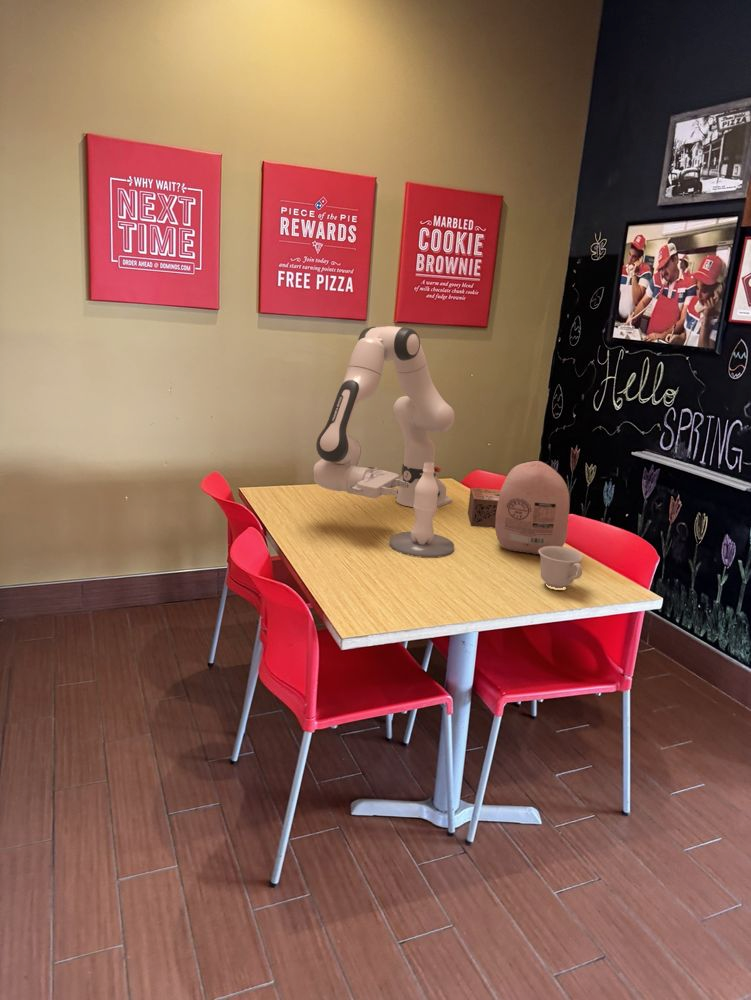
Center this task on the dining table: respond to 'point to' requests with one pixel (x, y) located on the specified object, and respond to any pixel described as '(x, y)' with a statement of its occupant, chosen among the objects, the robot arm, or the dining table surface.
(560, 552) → the teacup
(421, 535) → the water bottle
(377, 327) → the robot arm
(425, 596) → the dining table surface
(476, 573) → the dining table surface
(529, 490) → the packaged food
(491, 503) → the tissue box cover
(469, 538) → the dining table surface
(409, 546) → the plate
